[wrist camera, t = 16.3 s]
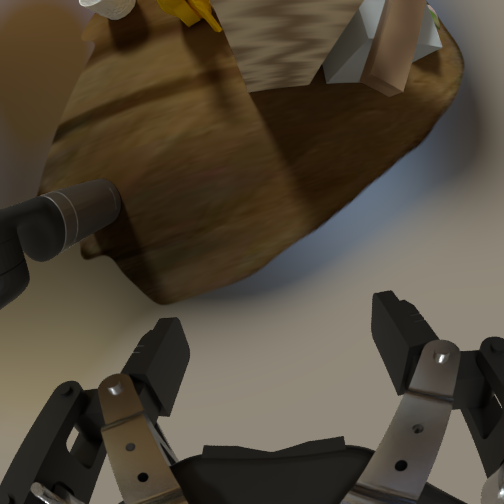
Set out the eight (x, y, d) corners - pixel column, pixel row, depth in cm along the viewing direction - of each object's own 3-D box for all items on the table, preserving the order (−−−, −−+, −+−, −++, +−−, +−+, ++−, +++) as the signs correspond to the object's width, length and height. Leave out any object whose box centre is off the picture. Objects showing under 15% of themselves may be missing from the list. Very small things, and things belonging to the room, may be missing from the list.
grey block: (326, 83, 40) (368, 38, 19) (304, -2, 34) (322, -74, 13) (375, 82, 39) (442, 47, 18) (352, -1, 33) (391, -65, 12)
